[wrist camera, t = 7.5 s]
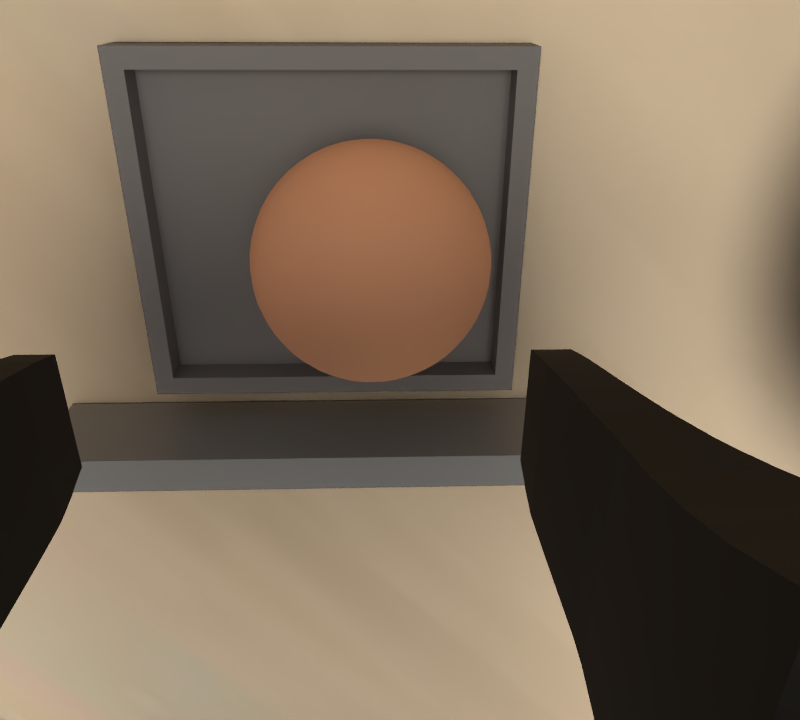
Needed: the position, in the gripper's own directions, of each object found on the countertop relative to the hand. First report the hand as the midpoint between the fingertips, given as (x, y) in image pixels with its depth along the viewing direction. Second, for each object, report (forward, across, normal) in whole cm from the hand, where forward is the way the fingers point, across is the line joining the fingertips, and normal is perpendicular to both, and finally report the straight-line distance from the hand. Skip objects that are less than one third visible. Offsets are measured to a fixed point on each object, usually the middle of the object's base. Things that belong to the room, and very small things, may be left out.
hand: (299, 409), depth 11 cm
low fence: (+9, 0, +6) cm, 11 cm away
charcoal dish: (+9, 0, 0) cm, 9 cm away
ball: (+6, -1, 0) cm, 6 cm away
